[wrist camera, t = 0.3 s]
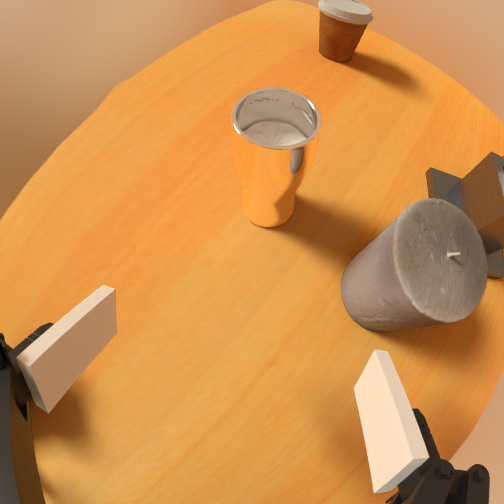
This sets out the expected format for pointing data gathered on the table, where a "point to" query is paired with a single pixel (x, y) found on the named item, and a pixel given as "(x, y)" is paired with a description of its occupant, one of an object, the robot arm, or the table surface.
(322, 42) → the disposable coffee cup
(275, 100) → the beer glass
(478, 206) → the jack stand
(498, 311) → the table surface
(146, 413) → the table surface
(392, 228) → the pillar candle
